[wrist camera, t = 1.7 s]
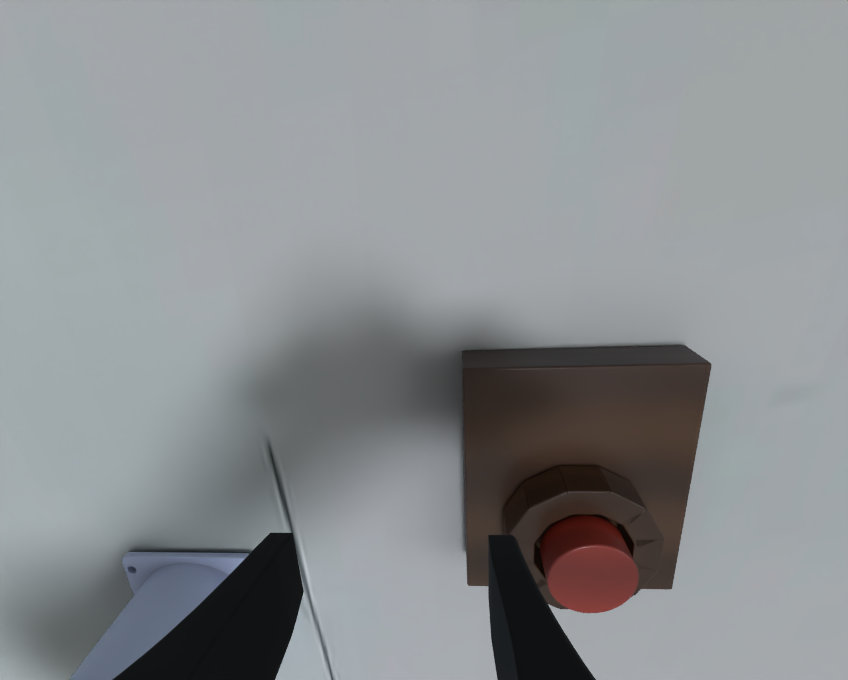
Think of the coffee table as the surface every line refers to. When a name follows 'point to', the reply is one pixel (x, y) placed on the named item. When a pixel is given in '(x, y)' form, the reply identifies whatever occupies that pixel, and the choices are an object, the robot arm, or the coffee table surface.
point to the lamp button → (588, 564)
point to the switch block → (581, 449)
